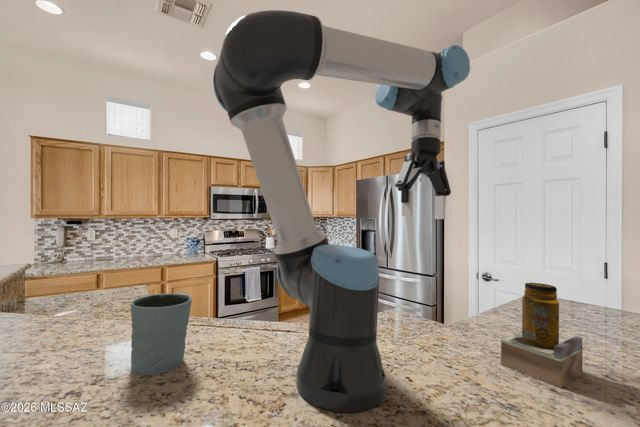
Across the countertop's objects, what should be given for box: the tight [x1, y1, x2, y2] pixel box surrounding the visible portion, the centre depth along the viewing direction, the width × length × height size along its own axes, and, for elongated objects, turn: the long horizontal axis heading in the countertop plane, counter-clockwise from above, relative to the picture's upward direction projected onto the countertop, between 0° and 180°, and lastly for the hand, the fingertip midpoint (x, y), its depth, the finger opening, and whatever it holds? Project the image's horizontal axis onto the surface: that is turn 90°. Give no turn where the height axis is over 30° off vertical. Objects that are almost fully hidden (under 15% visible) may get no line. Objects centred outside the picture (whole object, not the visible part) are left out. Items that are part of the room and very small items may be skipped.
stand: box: [500, 332, 583, 389], centre depth 59 cm, size 11×10×7 cm
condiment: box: [509, 282, 560, 355], centre depth 59 cm, size 7×8×12 cm
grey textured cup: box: [130, 293, 193, 376], centre depth 54 cm, size 10×10×12 cm
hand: (423, 217), depth 78 cm, fingers open, 13 cm apart
